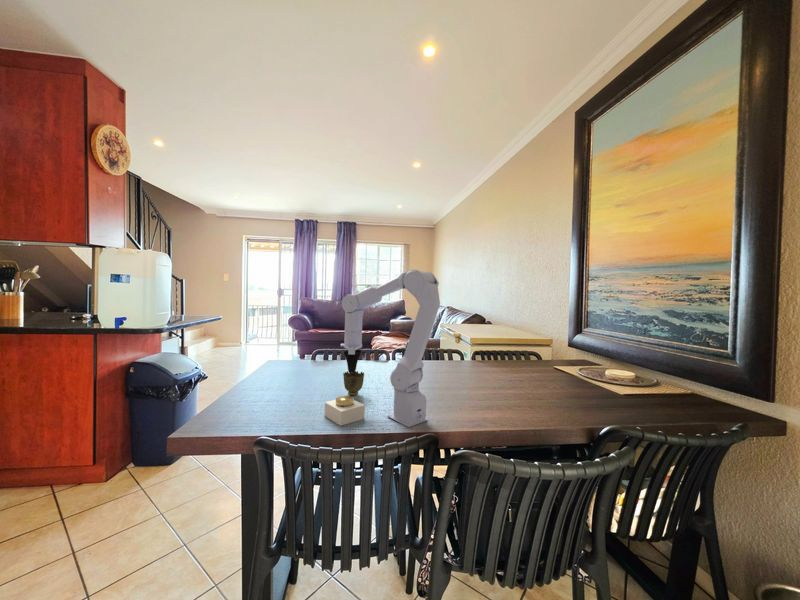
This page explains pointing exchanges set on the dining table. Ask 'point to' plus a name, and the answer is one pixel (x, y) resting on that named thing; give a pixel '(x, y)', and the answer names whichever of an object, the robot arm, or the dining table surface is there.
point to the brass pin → (344, 401)
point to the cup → (353, 382)
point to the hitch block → (344, 412)
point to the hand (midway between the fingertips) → (351, 371)
